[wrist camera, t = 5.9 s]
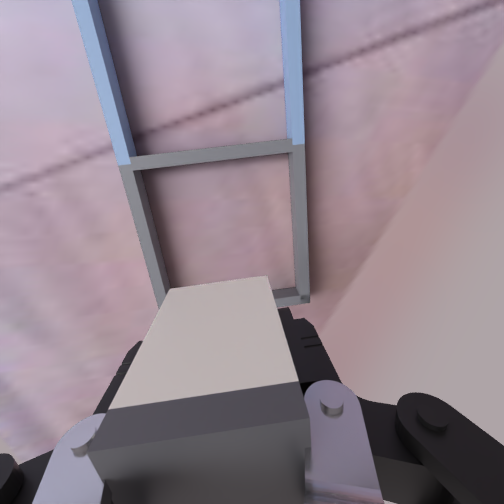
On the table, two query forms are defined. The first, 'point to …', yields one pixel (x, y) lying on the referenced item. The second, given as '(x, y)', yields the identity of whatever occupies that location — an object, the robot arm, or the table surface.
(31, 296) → the table surface
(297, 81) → the two-cell open frame
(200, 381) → the grey rectangular block
